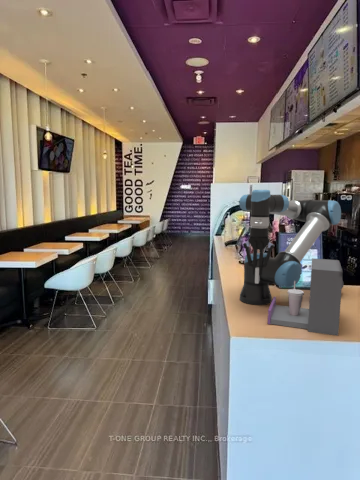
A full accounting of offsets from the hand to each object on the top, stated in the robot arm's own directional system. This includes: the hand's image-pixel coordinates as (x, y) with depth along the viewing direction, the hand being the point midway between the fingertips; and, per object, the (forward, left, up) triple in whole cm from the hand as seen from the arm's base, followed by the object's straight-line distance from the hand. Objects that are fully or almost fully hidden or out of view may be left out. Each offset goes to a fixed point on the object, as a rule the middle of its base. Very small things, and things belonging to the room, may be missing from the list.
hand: (257, 282), depth 147 cm
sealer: (+26, 0, -14) cm, 30 cm away
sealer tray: (+14, 0, -14) cm, 20 cm away
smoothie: (+16, 0, -12) cm, 20 cm away
